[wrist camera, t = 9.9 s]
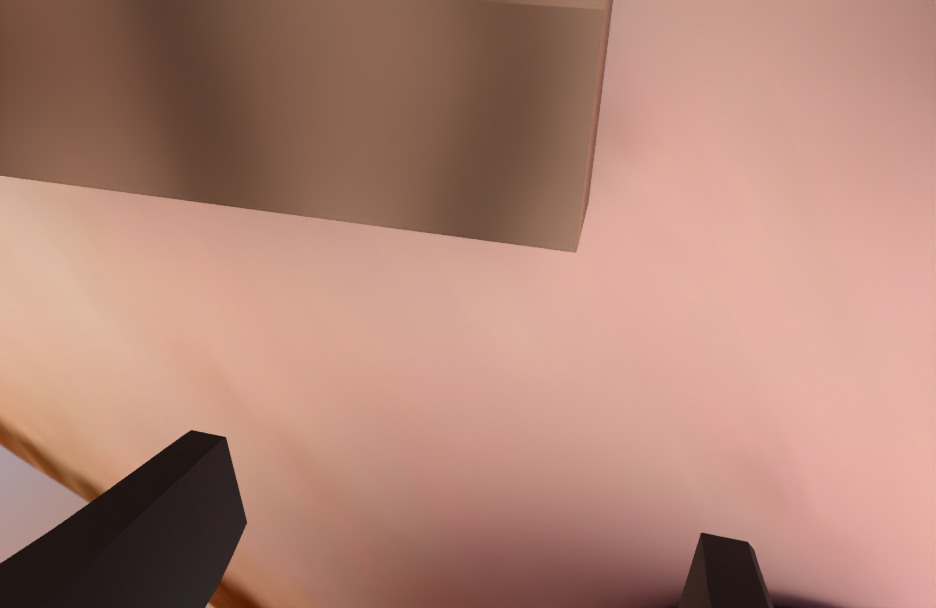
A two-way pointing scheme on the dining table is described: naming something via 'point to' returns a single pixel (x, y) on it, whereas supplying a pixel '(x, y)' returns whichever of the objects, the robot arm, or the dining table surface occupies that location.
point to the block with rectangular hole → (316, 107)
